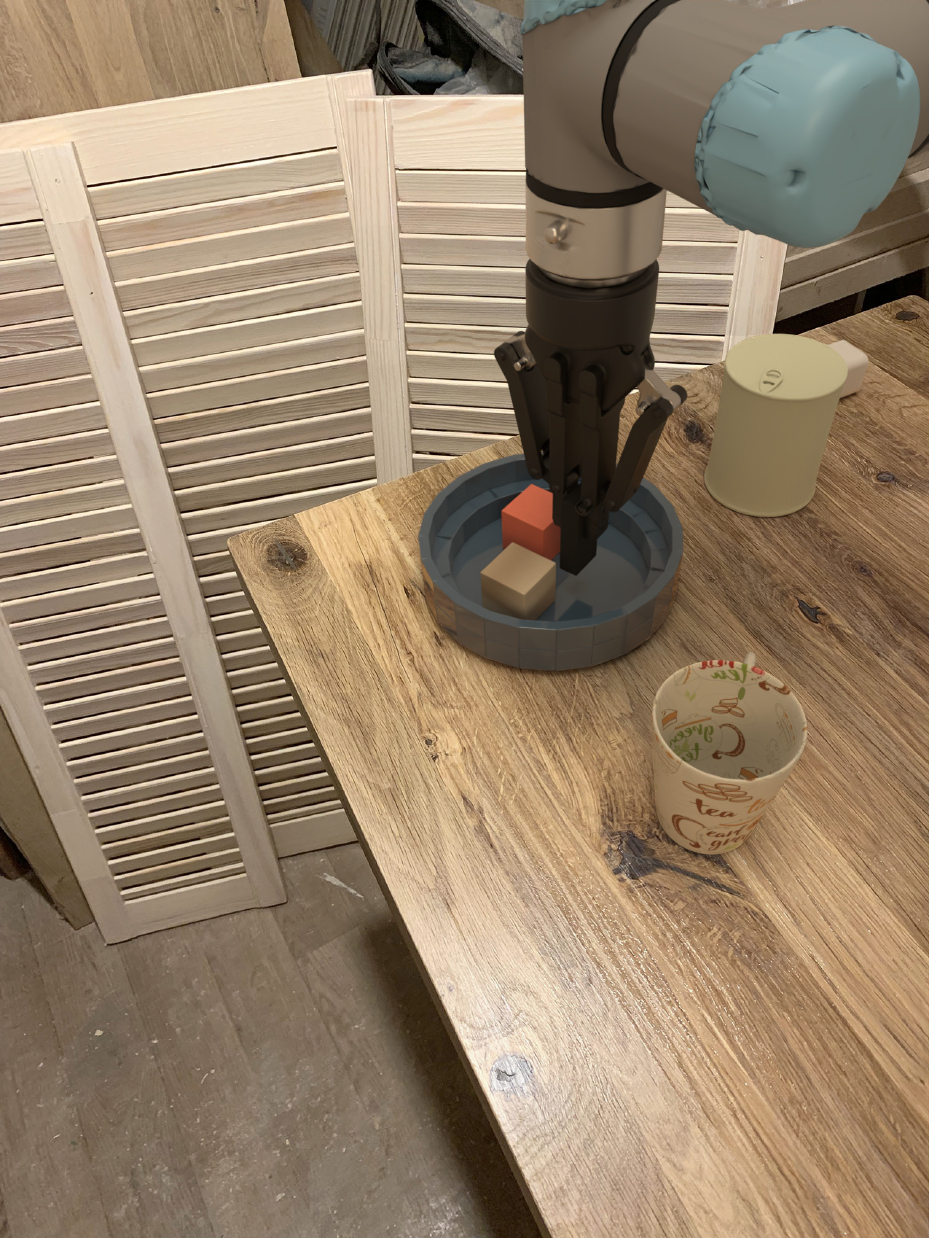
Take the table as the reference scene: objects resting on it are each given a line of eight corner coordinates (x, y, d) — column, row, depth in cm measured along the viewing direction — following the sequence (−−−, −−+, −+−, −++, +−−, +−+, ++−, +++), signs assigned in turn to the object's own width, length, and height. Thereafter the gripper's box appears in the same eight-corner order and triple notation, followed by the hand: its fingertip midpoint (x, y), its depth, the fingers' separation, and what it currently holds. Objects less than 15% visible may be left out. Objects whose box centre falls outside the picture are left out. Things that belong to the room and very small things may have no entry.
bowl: (721, 558, 73) (731, 510, 70) (584, 719, 64) (588, 673, 60) (520, 470, 82) (520, 424, 79) (373, 600, 72) (365, 554, 69)
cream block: (555, 600, 70) (556, 562, 68) (524, 632, 68) (524, 594, 66) (513, 579, 72) (512, 541, 69) (482, 609, 70) (479, 572, 67)
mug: (622, 848, 57) (635, 755, 49) (669, 695, 65) (687, 595, 57) (760, 891, 54) (796, 801, 47) (792, 727, 62) (827, 627, 55)
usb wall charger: (858, 394, 87) (870, 357, 84) (800, 416, 85) (809, 379, 83) (829, 374, 90) (839, 337, 87) (772, 395, 88) (780, 358, 85)
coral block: (571, 540, 75) (573, 502, 72) (542, 568, 73) (543, 530, 70) (531, 521, 77) (531, 483, 74) (502, 548, 75) (501, 510, 72)
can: (685, 494, 79) (705, 371, 70) (730, 438, 84) (753, 316, 75) (790, 532, 75) (824, 407, 66) (831, 470, 80) (867, 346, 71)
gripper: (459, 255, 53) (478, 555, 70) (660, 318, 47) (626, 629, 64) (535, 206, 57) (535, 502, 74) (730, 259, 51) (680, 567, 68)
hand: (578, 561), depth 69 cm, fingers closed
